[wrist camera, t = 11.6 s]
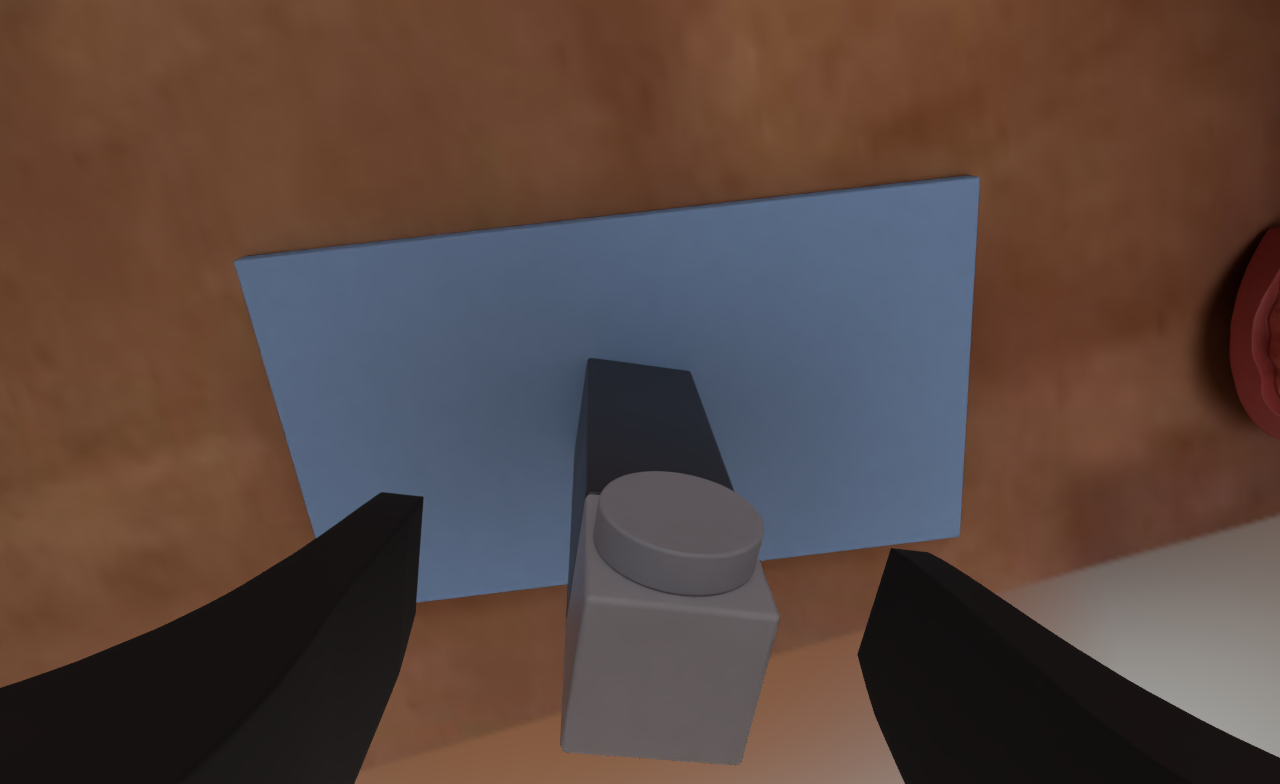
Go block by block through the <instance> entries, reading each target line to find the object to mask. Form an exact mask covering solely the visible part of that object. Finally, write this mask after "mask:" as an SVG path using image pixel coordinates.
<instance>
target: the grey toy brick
mask: <svg viewBox="0 0 1280 784" xmlns="http://www.w3.org/2000/svg"><path fill="white" fill-rule="evenodd" d="M763 535H764V525H763V521H762V518H761V516H760V514H759V513H758V511H757V510H756V509H755V508H754V507H753V506H752V505H751V504H750V503H749V502H748V501H747V500H746V499H745V498H743V497H742V496H740V495H739V494H737V493H736V492H734V489H733V486H732V483H731V481H730V478H729V475H728V472H727V470H726V467H725V464H724V461H723V459H722V456H721V453H720V450H719V448H718V445H717V442H716V440H715V437H714V434H713V431H712V429H711V426H710V423H709V420H708V418H707V415H706V412H705V409H704V407H703V404H702V401H701V398H700V396H699V393H698V390H697V388H696V385H695V382H694V379H693V377H692V374H691V372H690V371H685V370H677V369H670V368H662V367H655V366H648V365H640V364H633V363H625V362H618V361H610V360H603V359H595V358H589V359H588V361H587V367H586V374H585V381H584V388H583V395H582V402H581V409H580V416H579V423H578V430H577V436H576V443H575V451H574V471H573V491H572V512H571V532H570V552H569V573H568V593H567V613H566V618H567V621H566V635H565V655H564V676H563V696H562V716H561V737H560V745H561V748H562V751H564V752H566V753H580V754H593V755H606V756H619V757H633V758H646V759H659V760H672V761H686V762H698V763H711V764H712V763H713V764H725V765H726V764H727V765H739V764H740V763H741V762H742V758H743V754H744V751H745V747H746V743H747V739H748V736H749V732H750V728H751V725H752V721H753V717H754V713H755V710H756V706H757V702H758V698H759V695H760V691H761V687H762V684H763V680H764V676H765V672H766V669H767V665H768V661H769V658H770V654H771V650H772V646H773V643H774V639H775V635H776V632H777V628H778V624H779V620H780V617H779V613H778V610H777V607H776V605H775V602H774V599H773V596H772V594H771V591H770V588H769V585H768V583H767V580H766V577H765V574H764V572H763V569H762V566H761V564H760V561H759V558H758V555H759V551H760V547H761V543H762V539H763Z"/></svg>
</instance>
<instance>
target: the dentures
mask: <svg viewBox="0 0 1280 784" xmlns="http://www.w3.org/2000/svg"><path fill="white" fill-rule="evenodd" d="M1230 365H1231V370H1232V376H1233V380H1234V384H1235V387H1236V390H1237V393H1238V396H1239V399H1240V401H1241V404H1242V406H1243V407H1244V409H1245V411H1246V412H1247V414H1248V415H1249V417H1250V418H1251V420H1252V421H1253V422H1254V423H1255V424H1256V425H1257V426H1258V427H1259V428H1260V429H1262V430H1263V431H1264V432H1265V433H1267V434H1268V435H1270V436H1272V437H1274V438H1277V439H1280V227H1278V228H1271V229H1269V230H1268V231H1267V232H1266V233H1265V235H1264V236H1263V238H1262V240H1261V241H1260V243H1259V245H1258V247H1257V248H1256V250H1255V252H1254V254H1253V256H1252V258H1251V260H1250V262H1249V264H1248V266H1247V269H1246V271H1245V273H1244V276H1243V279H1242V282H1241V284H1240V287H1239V290H1238V293H1237V297H1236V301H1235V306H1234V310H1233V315H1232V320H1231V325H1230Z"/></svg>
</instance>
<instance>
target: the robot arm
mask: <svg viewBox="0 0 1280 784" xmlns="http://www.w3.org/2000/svg"><path fill="white" fill-rule="evenodd" d="M423 500H424V497H422V496H413V495H404V494H395V493H386V492H381V493H379V494H378V495H376V496H375V497H373V498H372V499H370V500H369V501H368V502H366V503H365V504H363V505H362V506H361V507H359V508H358V509H356V510H355V511H354V512H352V513H351V514H349V515H348V516H347V517H345V518H344V519H343V520H341V521H340V522H338V523H337V524H336V525H334V526H333V527H331V528H330V529H329V530H327V531H326V532H325V533H323V534H322V535H320V536H319V537H317V538H316V539H314V540H313V541H311V542H310V543H309V544H307V545H306V546H304V547H303V548H301V549H300V550H298V551H297V552H295V553H294V554H292V555H291V556H289V557H287V558H286V559H284V560H283V561H281V562H279V563H278V564H276V565H274V566H273V567H271V568H270V569H268V570H266V571H265V572H263V573H261V574H260V575H258V576H256V577H255V578H253V579H252V580H250V581H248V582H247V583H245V584H243V585H242V586H240V587H238V588H236V589H235V590H233V591H231V592H229V593H227V594H226V595H224V596H222V597H220V598H218V599H216V600H214V601H212V602H211V603H209V604H207V605H205V606H203V607H201V608H199V609H197V610H195V611H193V612H191V613H188V614H186V615H184V616H182V617H180V618H178V619H176V620H174V621H172V622H170V623H168V624H166V625H164V626H161V627H159V628H157V629H155V630H153V631H150V632H148V633H145V634H143V635H140V636H138V637H135V638H133V639H131V640H128V641H126V642H123V643H121V644H118V645H116V646H113V647H111V648H109V649H106V650H104V651H101V652H99V653H96V654H94V655H91V656H89V657H87V658H84V659H82V660H79V661H77V662H74V663H71V664H69V665H66V666H63V667H61V668H58V669H55V670H52V671H49V672H46V673H43V674H40V675H38V676H35V677H32V678H29V679H26V680H23V681H20V682H17V683H14V684H11V685H8V686H5V687H2V688H0V784H354V783H355V780H356V778H357V776H358V773H359V771H360V768H361V766H362V764H363V761H364V759H365V756H366V754H367V751H368V749H369V747H370V744H371V742H372V739H373V737H374V734H375V732H376V730H377V727H378V725H379V722H380V720H381V717H382V715H383V712H384V710H385V708H386V705H387V703H388V700H389V698H390V695H391V693H392V690H393V688H394V685H395V683H396V680H397V678H398V675H399V672H400V669H401V665H402V662H403V658H404V654H405V651H406V647H407V643H408V640H409V636H410V632H411V628H412V625H413V621H414V617H415V613H416V599H417V585H418V571H419V557H420V542H421V528H422V514H423ZM858 658H859V662H860V666H861V669H862V673H863V677H864V681H865V684H866V688H867V691H868V695H869V698H870V701H871V704H872V707H873V711H874V714H875V716H876V719H877V721H878V724H879V726H880V728H881V731H882V733H883V735H884V737H885V740H886V742H887V744H888V747H889V749H890V751H891V753H892V756H893V758H894V760H895V763H896V765H897V767H898V769H899V771H900V774H901V776H902V778H903V780H904V782H905V784H1280V758H1279V757H1277V756H1275V755H1273V754H1270V753H1268V752H1266V751H1264V750H1262V749H1260V748H1258V747H1255V746H1253V745H1251V744H1249V743H1247V742H1245V741H1242V740H1240V739H1238V738H1236V737H1234V736H1232V735H1230V734H1228V733H1226V732H1224V731H1222V730H1220V729H1218V728H1216V727H1214V726H1212V725H1210V724H1208V723H1206V722H1204V721H1202V720H1200V719H1198V718H1196V717H1195V716H1193V715H1191V714H1189V713H1187V712H1185V711H1183V710H1181V709H1180V708H1178V707H1176V706H1174V705H1172V704H1170V703H1169V702H1167V701H1165V700H1163V699H1161V698H1159V697H1158V696H1156V695H1154V694H1152V693H1150V692H1148V691H1146V690H1145V689H1143V688H1141V687H1139V686H1138V685H1136V684H1134V683H1133V682H1131V681H1129V680H1127V679H1126V678H1124V677H1122V676H1121V675H1119V674H1117V673H1116V672H1114V671H1112V670H1111V669H1109V668H1108V667H1106V666H1104V665H1103V664H1101V663H1100V662H1098V661H1096V660H1095V659H1093V658H1091V657H1090V656H1088V655H1087V654H1085V653H1083V652H1082V651H1080V650H1078V649H1077V648H1075V647H1074V646H1072V645H1071V644H1069V643H1068V642H1066V641H1064V640H1063V639H1062V638H1060V637H1058V636H1057V635H1055V634H1054V633H1052V632H1051V631H1049V630H1048V629H1046V628H1045V627H1043V626H1042V625H1040V624H1039V623H1037V622H1036V621H1034V620H1033V619H1031V618H1030V617H1028V616H1027V615H1025V614H1024V613H1022V612H1021V611H1019V610H1018V609H1017V608H1015V607H1013V606H1012V605H1011V604H1009V603H1008V602H1006V601H1005V600H1003V599H1002V598H1000V597H999V596H997V595H996V594H994V593H993V592H991V591H990V590H988V589H987V588H986V587H984V586H983V585H981V584H980V583H978V582H977V581H975V580H974V579H972V578H971V577H969V576H967V575H966V574H964V573H963V572H961V571H960V570H958V569H957V568H955V567H953V566H952V565H950V564H949V563H947V562H945V561H943V560H942V559H940V558H938V557H936V556H934V555H932V554H930V553H928V552H920V551H911V550H902V549H893V548H891V550H890V553H889V557H888V560H887V563H886V566H885V569H884V572H883V575H882V579H881V582H880V585H879V588H878V591H877V594H876V598H875V601H874V604H873V607H872V610H871V613H870V617H869V620H868V623H867V626H866V629H865V632H864V636H863V639H862V642H861V645H860V648H859V651H858Z"/></svg>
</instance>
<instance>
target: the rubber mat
mask: <svg viewBox="0 0 1280 784" xmlns="http://www.w3.org/2000/svg"><path fill="white" fill-rule="evenodd" d="M979 186H980V178H979V177H976V176H971V175H966V176H957V177H948V178H939V179H930V180H922V181H913V182H904V183H895V184H886V185H877V186H868V187H859V188H850V189H841V190H832V191H824V192H815V193H806V194H797V195H788V196H779V197H770V198H761V199H752V200H743V201H734V202H726V203H717V204H708V205H699V206H690V207H681V208H672V209H663V210H654V211H645V212H636V213H628V214H619V215H610V216H601V217H592V218H583V219H574V220H565V221H556V222H547V223H538V224H530V225H521V226H512V227H503V228H494V229H485V230H476V231H467V232H458V233H449V234H440V235H432V236H423V237H414V238H405V239H396V240H387V241H378V242H369V243H360V244H351V245H342V246H334V247H325V248H316V249H307V250H298V251H289V252H280V253H271V254H262V255H253V256H244V257H242V258H240V259H237V260H235V261H234V264H235V268H236V271H237V274H238V278H239V281H240V285H241V288H242V291H243V295H244V298H245V301H246V305H247V308H248V312H249V315H250V318H251V322H252V325H253V328H254V332H255V335H256V339H257V342H258V345H259V349H260V352H261V356H262V359H263V362H264V366H265V369H266V372H267V376H268V379H269V383H270V386H271V389H272V393H273V396H274V399H275V403H276V406H277V410H278V413H279V416H280V420H281V423H282V426H283V430H284V433H285V437H286V440H287V443H288V447H289V450H290V454H291V457H292V460H293V464H294V467H295V470H296V474H297V477H298V481H299V484H300V487H301V491H302V494H303V497H304V501H305V504H306V508H307V511H308V514H309V518H310V521H311V525H312V528H313V531H314V535H315V538H317V537H319V536H320V535H322V534H323V533H325V532H326V531H327V530H329V529H330V528H331V527H333V526H334V525H336V524H337V523H338V522H340V521H341V520H343V519H344V518H345V517H347V516H348V515H349V514H351V513H352V512H354V511H355V510H356V509H358V508H359V507H361V506H362V505H363V504H365V503H366V502H368V501H369V500H370V499H372V498H373V497H375V496H376V495H378V494H379V493H381V492H386V493H395V494H404V495H413V496H422V497H424V500H423V514H422V528H421V542H420V557H419V571H418V585H417V599H416V602H425V601H433V600H441V599H449V598H458V597H466V596H474V595H482V594H491V593H499V592H507V591H515V590H524V589H532V588H540V587H549V586H557V585H565V584H568V573H569V552H570V532H571V512H572V491H573V471H574V451H575V443H576V436H577V430H578V423H579V416H580V409H581V402H582V395H583V388H584V381H585V374H586V367H587V361H588V359H589V358H595V359H603V360H610V361H618V362H625V363H633V364H640V365H648V366H655V367H662V368H670V369H677V370H685V371H690V372H691V374H692V377H693V379H694V382H695V385H696V388H697V390H698V393H699V396H700V398H701V401H702V404H703V407H704V409H705V412H706V415H707V418H708V420H709V423H710V426H711V429H712V431H713V434H714V437H715V440H716V442H717V445H718V448H719V450H720V453H721V456H722V459H723V461H724V464H725V467H726V470H727V472H728V475H729V478H730V481H731V483H732V486H733V489H734V492H736V493H737V494H739V495H740V496H742V497H743V498H745V499H746V500H747V501H748V502H749V503H750V504H751V505H752V506H753V507H754V508H755V509H756V510H757V511H758V513H759V514H760V516H761V518H762V521H763V525H764V535H763V539H762V543H761V547H760V551H759V555H758V558H759V561H763V560H771V559H780V558H788V557H796V556H804V555H813V554H821V553H829V552H837V551H846V550H854V549H862V548H870V547H879V546H887V545H895V544H903V543H912V542H920V541H928V540H936V539H945V538H953V537H959V536H960V521H961V503H962V485H963V468H964V450H965V433H966V415H967V397H968V380H969V362H970V345H971V327H972V310H973V292H974V274H975V257H976V239H977V222H978V204H979Z"/></svg>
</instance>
